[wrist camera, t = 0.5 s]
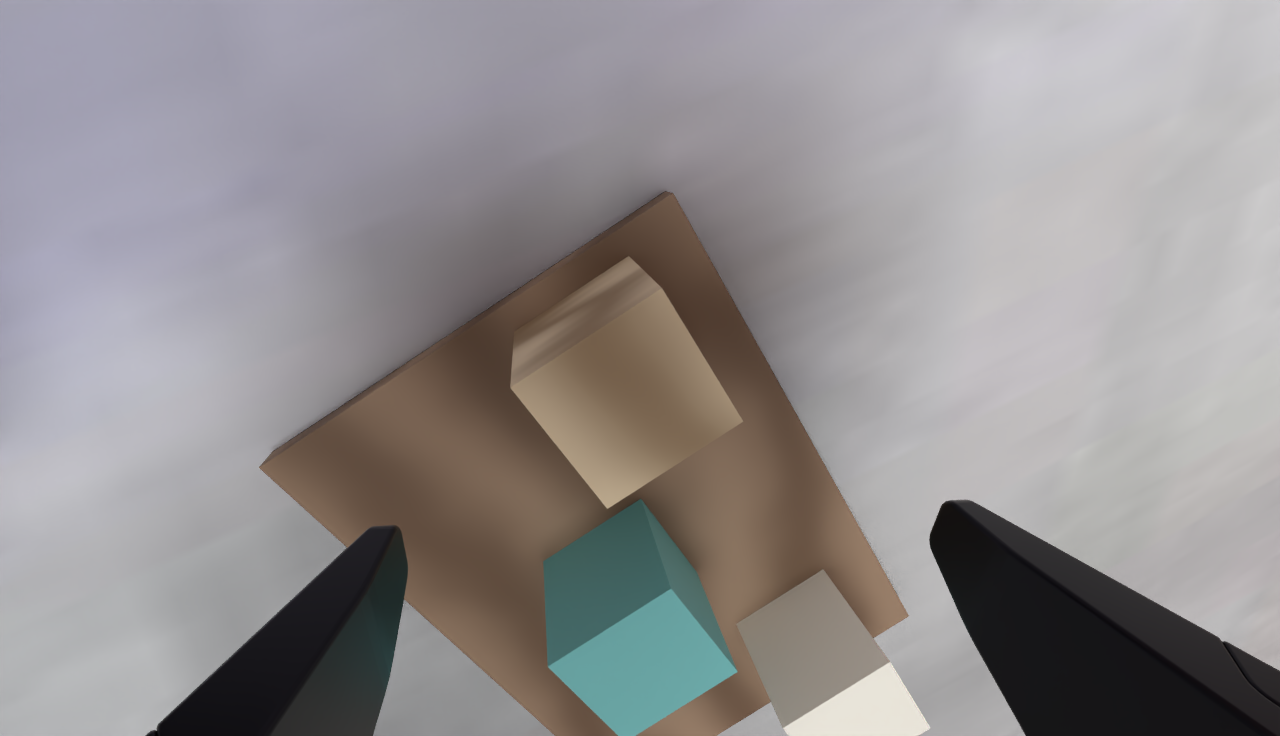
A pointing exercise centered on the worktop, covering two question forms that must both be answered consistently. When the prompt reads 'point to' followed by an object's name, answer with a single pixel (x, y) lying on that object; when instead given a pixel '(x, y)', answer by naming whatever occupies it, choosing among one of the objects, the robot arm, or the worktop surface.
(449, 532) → the walnut board
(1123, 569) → the worktop surface
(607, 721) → the teal block
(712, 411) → the birch block
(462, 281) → the worktop surface
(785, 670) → the off-white block
